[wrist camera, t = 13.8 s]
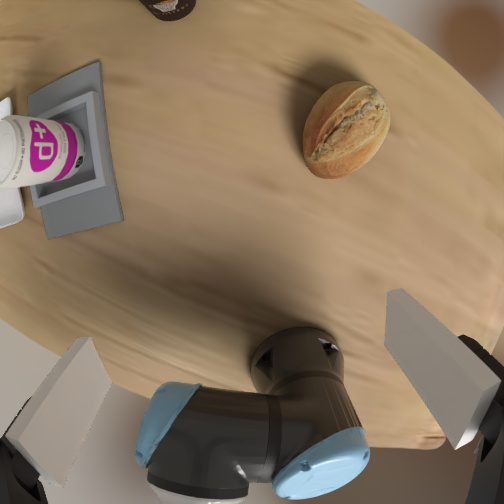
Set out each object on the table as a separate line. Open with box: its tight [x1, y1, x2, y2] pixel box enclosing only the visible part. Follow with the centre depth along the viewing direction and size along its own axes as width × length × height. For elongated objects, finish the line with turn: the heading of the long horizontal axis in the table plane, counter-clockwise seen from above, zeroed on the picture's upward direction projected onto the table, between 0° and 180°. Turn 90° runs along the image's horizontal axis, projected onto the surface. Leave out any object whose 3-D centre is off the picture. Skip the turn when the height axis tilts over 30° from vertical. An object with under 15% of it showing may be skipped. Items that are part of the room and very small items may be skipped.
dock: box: [28, 61, 124, 240], centre depth 34 cm, size 24×14×3 cm, turn 9°
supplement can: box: [0, 115, 86, 190], centre depth 27 cm, size 8×8×15 cm
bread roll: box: [303, 81, 390, 179], centre depth 32 cm, size 10×15×8 cm, turn 146°
